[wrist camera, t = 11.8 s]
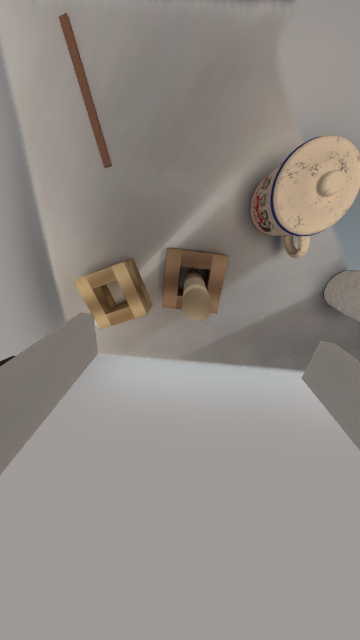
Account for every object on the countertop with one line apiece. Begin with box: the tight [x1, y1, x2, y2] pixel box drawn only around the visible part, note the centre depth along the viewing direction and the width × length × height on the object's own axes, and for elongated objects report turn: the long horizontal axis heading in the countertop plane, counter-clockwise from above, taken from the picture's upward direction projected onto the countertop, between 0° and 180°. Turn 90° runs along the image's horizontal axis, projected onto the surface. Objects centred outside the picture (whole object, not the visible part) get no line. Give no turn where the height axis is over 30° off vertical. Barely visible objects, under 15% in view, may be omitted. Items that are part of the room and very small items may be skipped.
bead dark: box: [163, 248, 228, 313], centre depth 30 cm, size 9×9×5 cm
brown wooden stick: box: [59, 13, 111, 168], centre depth 24 cm, size 14×1×1 cm, turn 12°
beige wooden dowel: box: [182, 269, 212, 321], centre depth 25 cm, size 3×3×16 cm
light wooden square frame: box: [73, 259, 152, 329], centre depth 32 cm, size 9×9×5 cm
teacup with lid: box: [250, 135, 360, 258], centre depth 23 cm, size 12×9×12 cm
